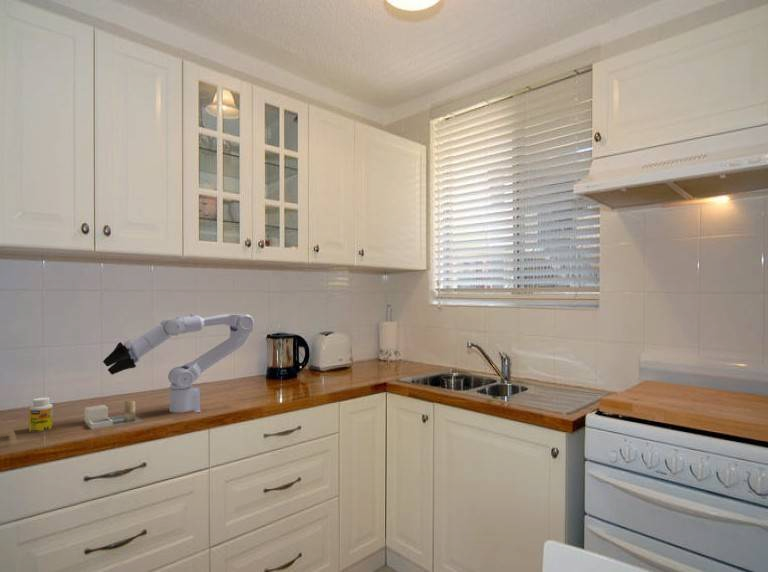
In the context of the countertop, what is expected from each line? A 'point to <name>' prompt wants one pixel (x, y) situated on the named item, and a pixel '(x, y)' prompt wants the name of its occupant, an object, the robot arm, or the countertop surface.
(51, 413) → the supplement bottle
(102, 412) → the cover
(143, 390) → the countertop surface
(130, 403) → the loose pin
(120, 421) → the board
